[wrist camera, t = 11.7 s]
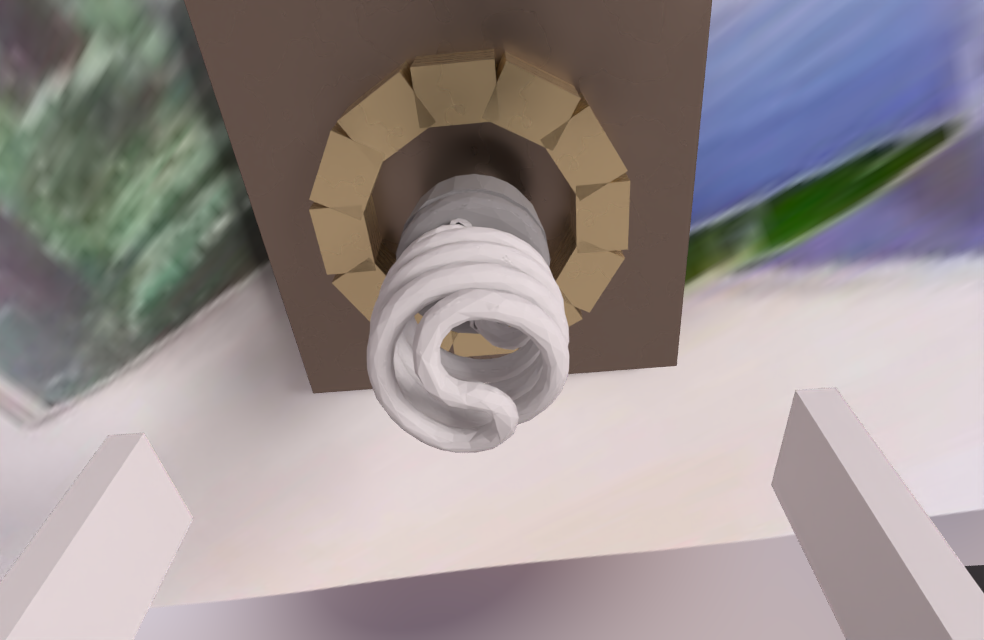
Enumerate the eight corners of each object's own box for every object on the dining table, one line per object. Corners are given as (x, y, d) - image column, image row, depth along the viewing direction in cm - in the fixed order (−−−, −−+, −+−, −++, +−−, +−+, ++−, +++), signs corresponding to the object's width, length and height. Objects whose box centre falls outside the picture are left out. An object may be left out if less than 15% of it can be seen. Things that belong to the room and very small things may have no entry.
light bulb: (560, 247, 26) (606, 453, 16) (439, 287, 27) (409, 504, 17) (518, 121, 23) (541, 275, 13) (384, 171, 24) (307, 350, 14)
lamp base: (196, -20, 21) (150, -12, 19) (705, -75, 21) (741, -76, 18) (320, 374, 31) (303, 420, 28) (668, 347, 30) (688, 392, 28)
